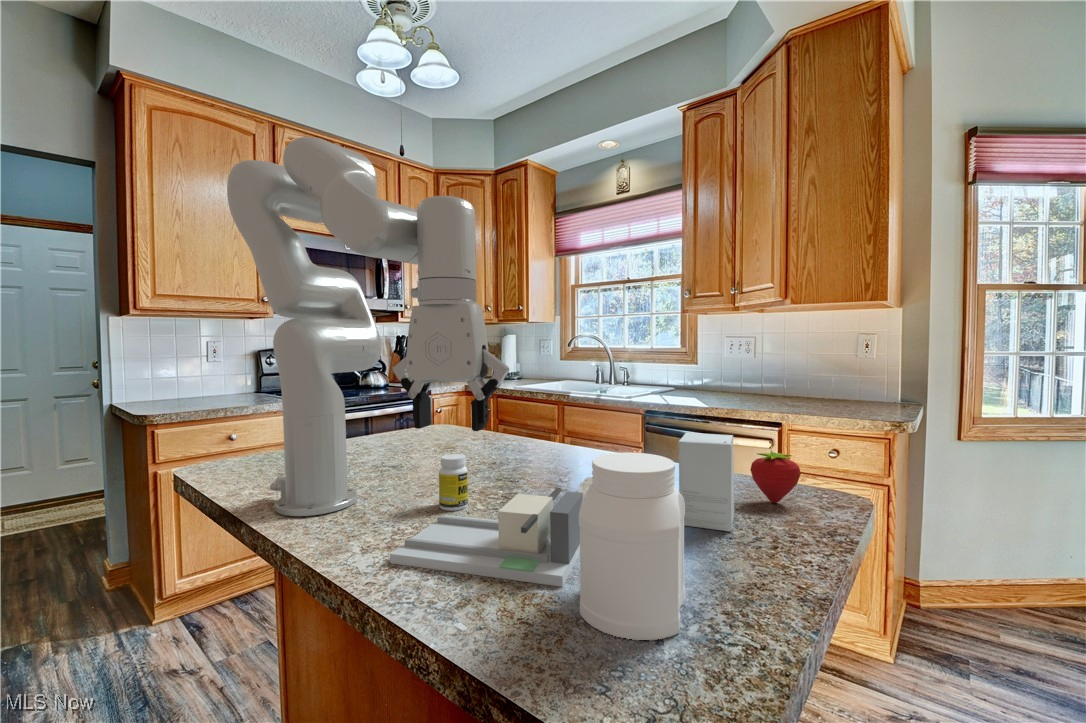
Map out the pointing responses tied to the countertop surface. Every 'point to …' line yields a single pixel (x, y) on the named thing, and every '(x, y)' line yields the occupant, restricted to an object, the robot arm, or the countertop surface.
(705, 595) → the countertop surface
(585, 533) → the jar
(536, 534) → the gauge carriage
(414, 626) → the countertop surface
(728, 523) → the supplement box
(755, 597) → the countertop surface
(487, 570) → the board
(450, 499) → the supplement bottle
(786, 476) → the strawberry
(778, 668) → the countertop surface
